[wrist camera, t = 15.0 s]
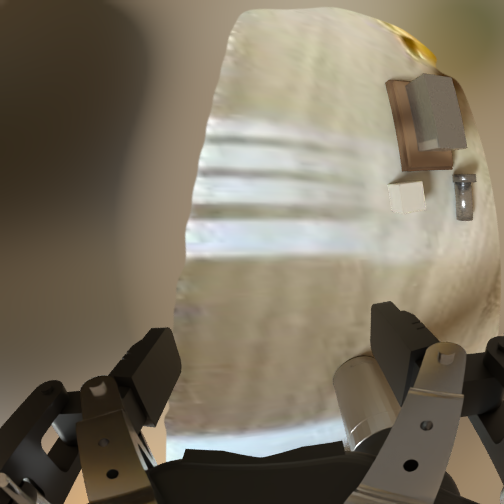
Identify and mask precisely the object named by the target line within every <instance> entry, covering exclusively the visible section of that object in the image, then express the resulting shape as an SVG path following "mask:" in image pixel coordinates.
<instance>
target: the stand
mask: <svg viewBox="0 0 504 504" xmlns="http://www.w3.org/2000/svg"><path fill="white" fill-rule="evenodd" d="M409 83H410V81H397V80H388V81H387V82H386V83H385V84H386V88H387V92H388V96H389V100H390V105H391V109H392V114H393V119H394V124H395V129H396V134H397V140H398V146H399V152H400V159H401V167H402V171H421V170H452V169H453V168H452V166H453V159H452V152H451V151H418V145H417V139H416V134H415V128H414V123H413V118H412V113H411V109H410V104H409V100H408V96H407V92H406V88H405V86H406V85H407V84H409Z"/></svg>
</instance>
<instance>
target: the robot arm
mask: <svg viewBox="0 0 504 504" xmlns="http://www.w3.org/2000/svg"><path fill="white" fill-rule="evenodd" d="M370 343H371V349H372V353H373V355H374V357H375V358H372V357H369V356H361V357H356V358H353V359H351V360H349V361H347V362H346V363H344V364H343V365H342V366H341V367H340V368H339V369H338V370H337V371H336V373H335V375H334V379H333V384H334V388H335V392H336V396H337V400H338V404H339V408H340V412H341V416H342V420H343V424H344V428H345V432H346V436H347V440H348V443H349V448H350V451H344V446H343V442H342V441H338V442H332V443H326V444H319V445H312V446H304V447H300V448H297V449H293V450H290V451H286V452H283V453H279V454H275V455H271V456H267V457H261V458H259V457H252V456H246V455H241V454H236V453H231V452H226V451H217V450H195V449H186V450H185V453H184V456H183V459H179V460H174V461H169V462H166V463H162V464H160V465H157V463H156V461H155V459H154V457H153V455H152V453H151V451H150V448H149V446H148V444H147V442H146V440H145V437H144V435H143V434H142V432H141V429H142V427H143V426H147V427H156V425H157V422H158V420H159V418H160V416H161V414H162V412H163V410H164V408H165V405H166V403H167V401H168V399H169V397H170V395H171V393H172V390H173V388H174V386H175V384H176V382H177V380H178V378H179V376H180V373H181V359H180V356H179V353H178V350H177V346H176V343H175V340H174V336H173V333H172V331H171V329H170V328H168V327H167V328H151V329H150V330H149V332H148V333H147V334H146V335H145V337H144V338H143V339H142V340H140V341H139V342H137V343H136V344H134V345H133V346H132V347H131V348H130V349H129V350H128V351H127V354H125V355H124V356H123V358H122V360H120V361H119V363H118V364H117V365H116V367H114V369H113V370H112V371H111V372H110V374H109V375H108V376H105V375H102V376H97V377H94V378H91V379H89V380H88V381H86V382H85V383H84V384H83V385H82V387H81V389H80V391H74V392H67V391H66V389H65V388H64V386H63V384H62V382H60V381H57V380H51V381H47V382H44V383H43V384H41V385H39V386H38V387H37V388H36V389H35V390H34V391H33V392H32V393H31V394H30V395H29V396H28V398H27V399H26V400H25V401H24V402H23V403H22V404H21V405H20V406H19V407H18V409H17V410H16V411H15V412H14V413H13V414H12V415H11V417H10V418H9V419H8V420H7V421H6V422H5V423H4V425H3V426H2V427H1V428H0V504H64V502H65V500H66V497H67V496H68V494H69V492H70V490H71V488H72V486H73V484H74V482H75V480H76V478H77V476H78V474H79V472H80V470H81V469H82V473H83V478H84V483H85V487H86V492H87V496H88V500H89V503H88V504H479V503H476V502H474V501H471V500H469V499H466V498H464V497H461V496H460V493H459V491H458V488H457V486H456V484H455V482H454V480H453V479H452V477H451V476H450V475H449V474H448V473H447V472H446V467H447V465H448V462H449V458H450V455H451V452H452V448H453V445H454V441H455V437H456V433H457V429H458V425H459V420H460V417H464V416H468V418H469V419H470V421H471V423H472V425H473V426H474V428H475V430H476V432H477V433H478V435H479V437H480V439H481V441H482V443H483V445H484V446H485V448H486V450H487V452H488V454H489V456H490V458H491V460H492V462H493V464H494V466H495V468H496V470H497V472H498V474H499V476H500V478H501V480H502V483H503V485H504V336H497V337H494V338H492V339H490V340H489V341H488V343H487V347H486V350H485V352H483V353H475V354H466V351H465V350H464V349H463V348H462V347H461V346H459V345H458V344H455V343H451V342H440V341H439V340H438V339H437V338H436V337H435V336H434V335H433V334H432V333H431V332H430V331H429V330H428V329H427V328H425V326H424V324H423V323H422V322H421V323H420V320H419V319H418V318H417V317H416V316H415V315H413V314H411V313H409V312H407V311H400V310H399V309H398V308H397V307H396V306H395V305H394V304H393V303H392V302H391V301H388V302H383V303H377V304H373V305H372V308H371V336H370ZM51 425H52V427H53V428H54V430H55V431H56V433H57V434H58V435H59V438H58V439H57V441H56V442H55V444H54V445H53V447H52V448H51V450H50V451H49V453H48V454H46V453H45V452H44V450H43V449H42V446H41V439H42V437H43V435H44V434H45V433H46V431H47V430H48V428H49V427H50V426H51ZM500 502H501V503H500V504H504V487H503V489H502V491H501V495H500Z"/></svg>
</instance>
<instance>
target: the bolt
mask: <svg viewBox="0 0 504 504" xmlns="http://www.w3.org/2000/svg"><path fill="white" fill-rule="evenodd" d="M452 176H453V182H454V183H455V195H456V214H457V220H461V221H470V220H473V207H472V190H471V182H476V174H453V175H452Z"/></svg>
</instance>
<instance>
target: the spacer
mask: <svg viewBox="0 0 504 504" xmlns="http://www.w3.org/2000/svg"><path fill="white" fill-rule="evenodd" d="M388 190H389V197H390V203H391V210H392V212H396V213H400V214H406V213H411V212H417V211H422V210H426V204H425V196H424V189H423V182H422V181H408V182H401V183H394V184H388Z"/></svg>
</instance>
